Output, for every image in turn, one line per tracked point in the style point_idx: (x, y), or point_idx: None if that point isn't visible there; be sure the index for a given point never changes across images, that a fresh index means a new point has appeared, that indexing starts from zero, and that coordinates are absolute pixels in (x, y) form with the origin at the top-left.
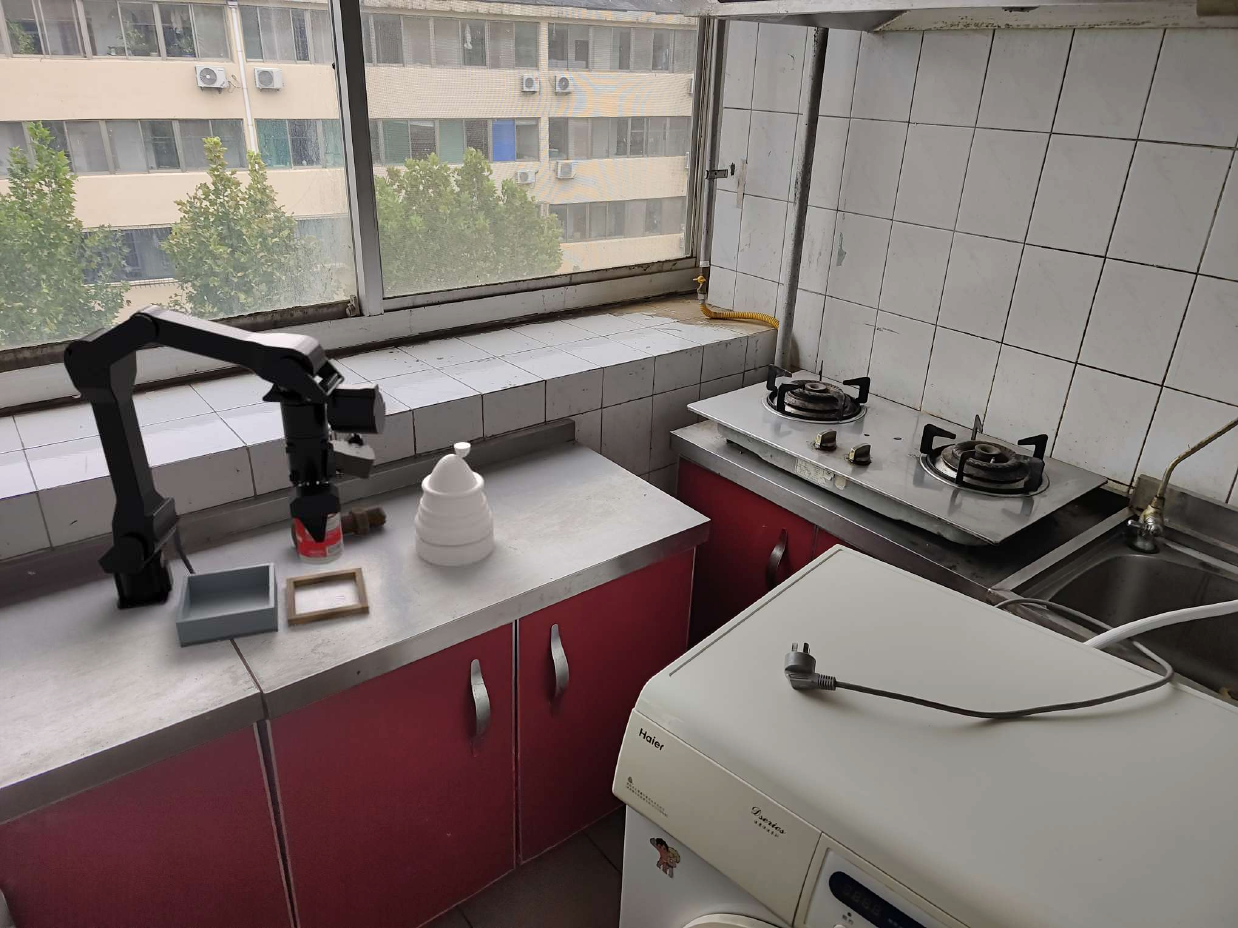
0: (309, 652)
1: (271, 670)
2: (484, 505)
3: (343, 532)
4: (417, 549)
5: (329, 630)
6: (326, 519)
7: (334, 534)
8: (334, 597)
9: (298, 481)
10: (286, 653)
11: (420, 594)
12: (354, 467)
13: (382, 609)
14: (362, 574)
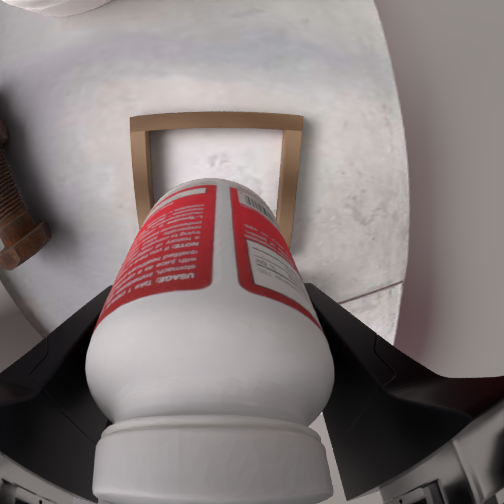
0: (366, 228)
1: (375, 274)
2: None
3: (6, 166)
4: (88, 6)
5: (324, 193)
6: (402, 356)
7: (284, 249)
8: (213, 175)
9: (85, 482)
10: (351, 257)
11: (265, 9)
12: None
13: (295, 88)
14: (162, 114)
